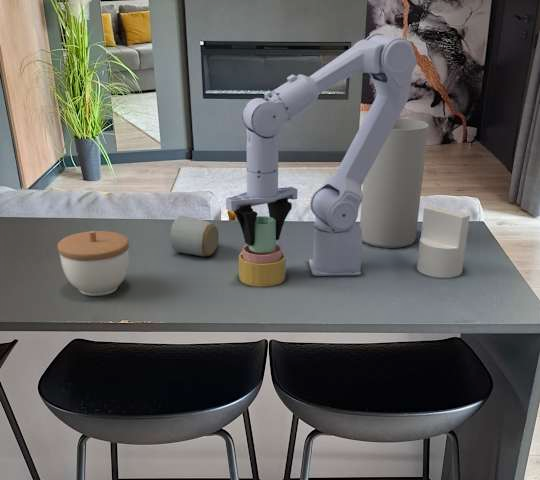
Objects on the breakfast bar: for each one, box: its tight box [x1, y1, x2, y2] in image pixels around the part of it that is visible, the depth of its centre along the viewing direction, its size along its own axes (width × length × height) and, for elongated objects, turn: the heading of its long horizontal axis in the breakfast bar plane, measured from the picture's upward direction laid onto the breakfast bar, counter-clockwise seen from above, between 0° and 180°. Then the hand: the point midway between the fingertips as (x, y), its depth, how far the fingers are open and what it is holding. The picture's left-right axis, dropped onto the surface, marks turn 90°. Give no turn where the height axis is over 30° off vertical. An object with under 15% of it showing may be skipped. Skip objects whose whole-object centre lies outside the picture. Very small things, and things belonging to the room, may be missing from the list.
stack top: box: [242, 243, 283, 264], centre depth 137 cm, size 8×8×6 cm
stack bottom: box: [238, 251, 287, 288], centre depth 137 cm, size 9×9×4 cm
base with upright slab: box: [416, 204, 471, 279], centre depth 140 cm, size 9×9×12 cm
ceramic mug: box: [169, 215, 219, 257], centre depth 149 cm, size 11×8×8 cm
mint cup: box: [249, 215, 277, 253], centre depth 134 cm, size 5×5×6 cm
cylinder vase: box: [359, 117, 429, 249], centre depth 152 cm, size 12×12×25 cm
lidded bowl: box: [57, 230, 130, 297], centre depth 131 cm, size 13×13×11 cm
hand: (262, 241), depth 135 cm, fingers closed on mint cup, 5 cm apart
